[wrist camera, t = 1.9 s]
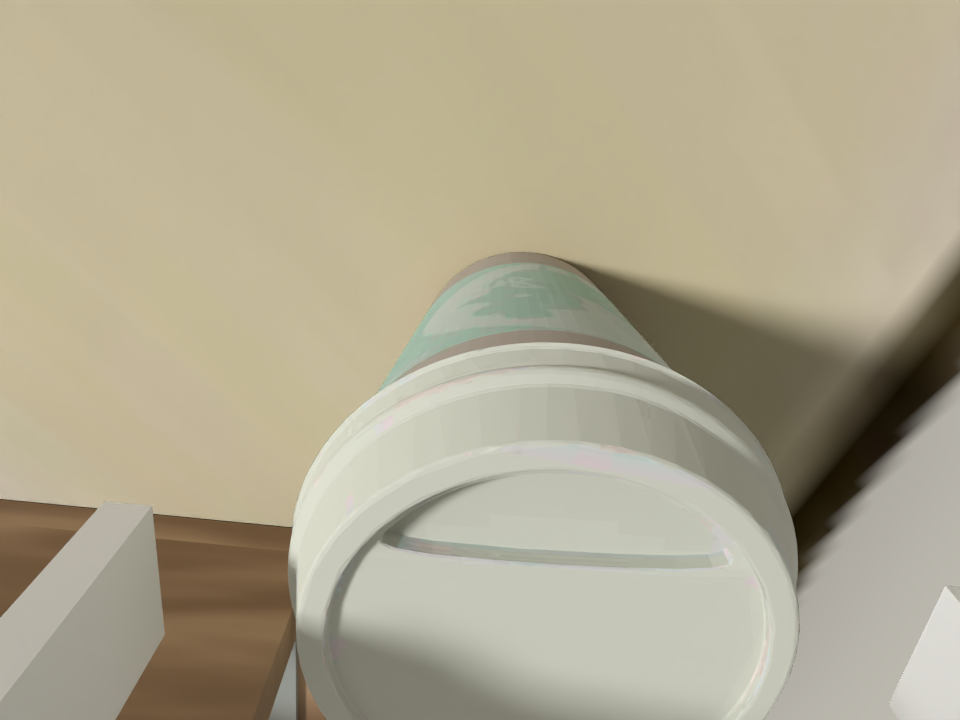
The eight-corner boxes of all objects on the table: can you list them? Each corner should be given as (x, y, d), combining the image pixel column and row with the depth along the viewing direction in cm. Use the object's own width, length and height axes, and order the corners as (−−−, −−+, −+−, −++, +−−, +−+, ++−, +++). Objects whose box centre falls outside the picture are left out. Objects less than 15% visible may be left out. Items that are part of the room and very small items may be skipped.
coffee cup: (718, 314, 21) (970, 613, 10) (543, 503, 24) (585, 896, 13) (488, 140, 19) (480, 268, 8) (328, 369, 22) (158, 697, 11)
